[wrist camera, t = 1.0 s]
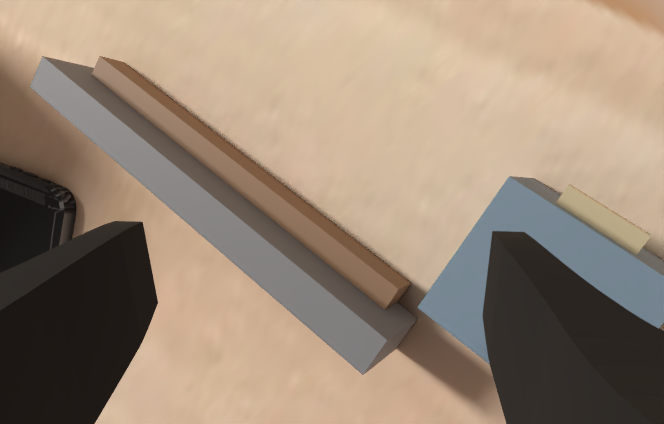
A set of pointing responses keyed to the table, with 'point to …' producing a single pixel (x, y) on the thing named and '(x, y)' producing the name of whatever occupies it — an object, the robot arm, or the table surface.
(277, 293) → the grey and brown bar
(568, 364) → the robot arm
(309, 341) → the table surface
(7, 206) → the phone
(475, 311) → the cabinet
